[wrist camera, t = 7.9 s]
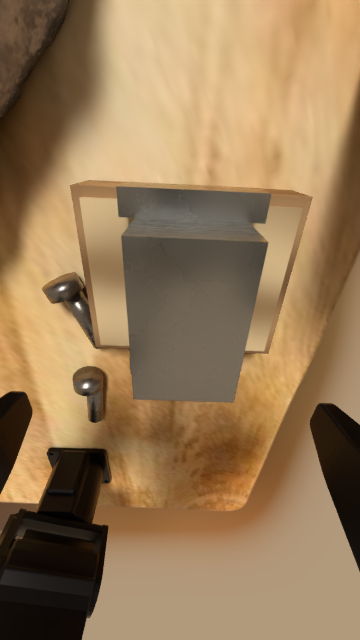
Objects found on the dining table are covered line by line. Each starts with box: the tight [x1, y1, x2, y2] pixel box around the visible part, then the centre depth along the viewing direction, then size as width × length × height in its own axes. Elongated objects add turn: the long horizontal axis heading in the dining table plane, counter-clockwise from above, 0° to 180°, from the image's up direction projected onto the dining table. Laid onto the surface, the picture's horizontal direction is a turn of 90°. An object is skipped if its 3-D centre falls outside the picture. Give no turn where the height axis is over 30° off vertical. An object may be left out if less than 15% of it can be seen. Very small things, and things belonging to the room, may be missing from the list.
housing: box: [116, 182, 272, 403], centre depth 13 cm, size 10×6×5 cm, turn 178°
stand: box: [70, 180, 313, 354], centre depth 17 cm, size 10×12×3 cm
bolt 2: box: [73, 366, 103, 423], centre depth 24 cm, size 6×2×2 cm
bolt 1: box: [42, 272, 102, 349], centre depth 19 cm, size 6×2×2 cm, turn 18°
